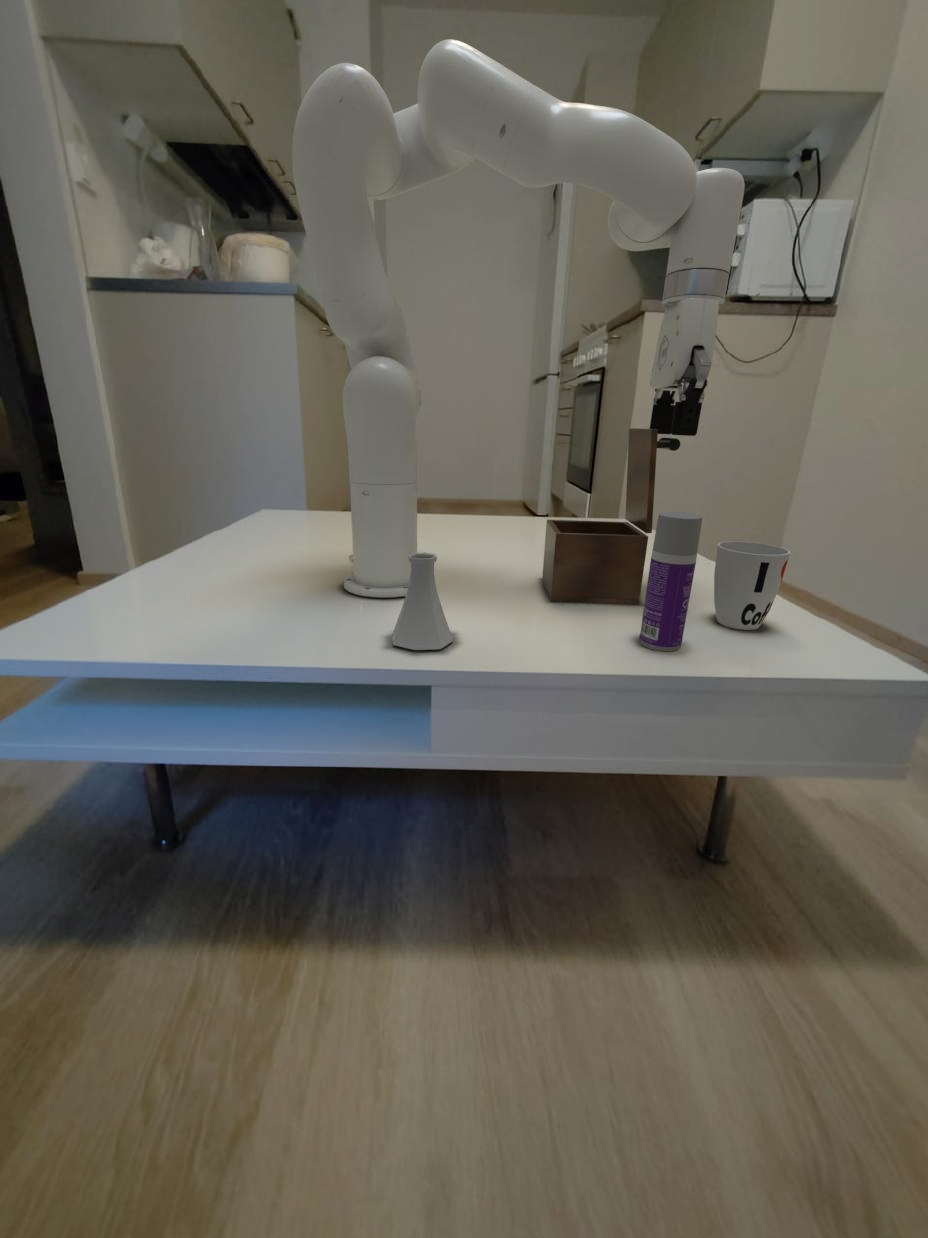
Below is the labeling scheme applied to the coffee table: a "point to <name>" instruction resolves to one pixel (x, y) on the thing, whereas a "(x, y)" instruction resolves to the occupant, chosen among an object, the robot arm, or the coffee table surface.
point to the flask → (422, 609)
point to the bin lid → (643, 474)
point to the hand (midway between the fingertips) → (671, 434)
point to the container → (670, 580)
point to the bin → (593, 561)
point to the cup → (747, 582)
